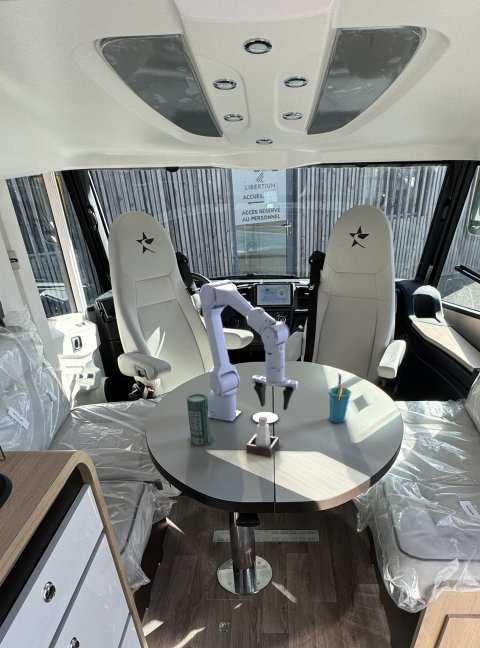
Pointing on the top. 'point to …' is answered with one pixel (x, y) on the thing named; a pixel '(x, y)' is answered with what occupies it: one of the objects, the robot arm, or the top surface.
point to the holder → (262, 450)
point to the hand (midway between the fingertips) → (274, 407)
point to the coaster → (270, 416)
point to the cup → (338, 402)
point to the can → (199, 419)
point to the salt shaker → (263, 433)
